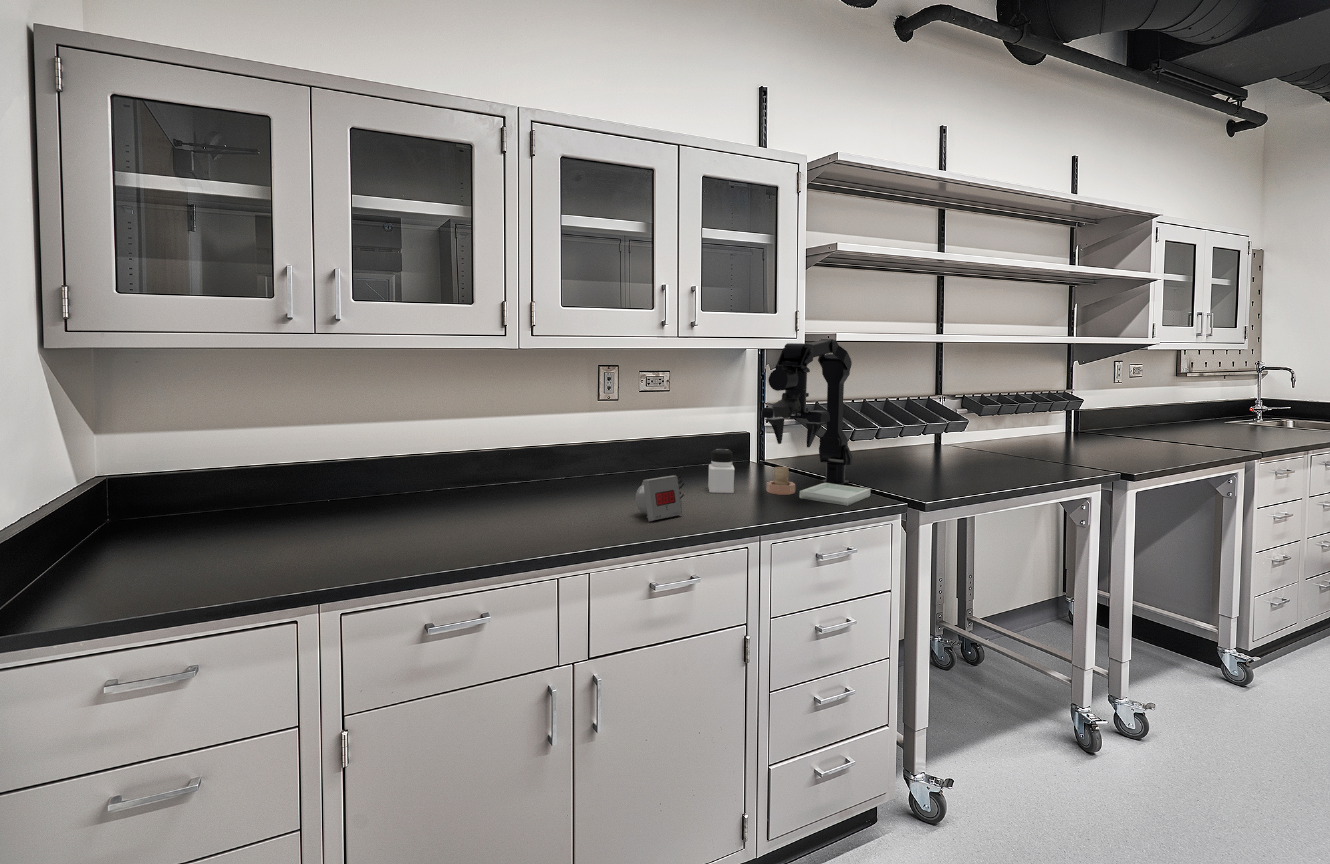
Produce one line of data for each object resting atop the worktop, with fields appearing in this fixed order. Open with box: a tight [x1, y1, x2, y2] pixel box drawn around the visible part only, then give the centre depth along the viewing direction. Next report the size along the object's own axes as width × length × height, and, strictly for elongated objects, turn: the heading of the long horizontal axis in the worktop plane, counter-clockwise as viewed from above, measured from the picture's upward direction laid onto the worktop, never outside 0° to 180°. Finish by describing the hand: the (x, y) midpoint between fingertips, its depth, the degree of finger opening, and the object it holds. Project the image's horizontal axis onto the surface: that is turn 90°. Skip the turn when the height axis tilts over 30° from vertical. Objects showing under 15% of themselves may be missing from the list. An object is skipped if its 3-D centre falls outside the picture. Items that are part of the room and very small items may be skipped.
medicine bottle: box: [707, 448, 736, 494], centre depth 202 cm, size 7×7×12 cm
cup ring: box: [765, 480, 796, 496], centre depth 202 cm, size 8×8×2 cm
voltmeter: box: [635, 465, 686, 522], centre depth 176 cm, size 27×11×10 cm, turn 168°
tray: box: [799, 482, 871, 507], centre depth 196 cm, size 16×14×2 cm
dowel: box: [773, 466, 790, 485], centre depth 201 cm, size 4×4×7 cm
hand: (793, 445), depth 193 cm, fingers open, 9 cm apart
